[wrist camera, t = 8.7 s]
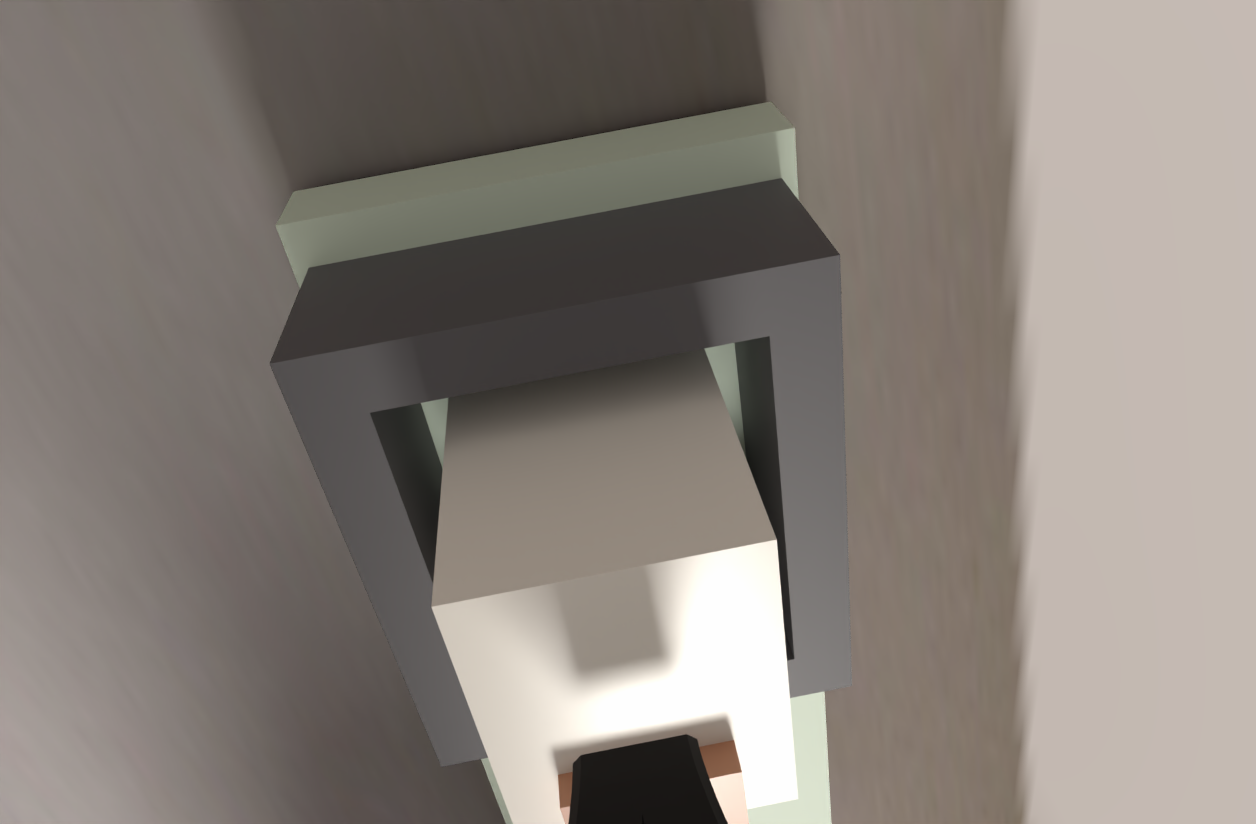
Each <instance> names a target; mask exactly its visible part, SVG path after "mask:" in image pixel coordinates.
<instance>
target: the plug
mask: <svg viewBox="0 0 1256 824" xmlns="http://www.w3.org/2000/svg"><path fill="white" fill-rule="evenodd" d="M431 607H432V610H433V613H434V615H435V618H436V621H437V623H438V626H439V629H440V631H441V634H442V637H443V639H444V642H445V645H446V647H447V650H448V653H449V655H450V658H451V661H452V663H453V666H454V668H455V671H456V674H457V676H458V679H459V682H460V684H461V687H462V690H463V692H464V695H465V698H466V700H467V703H468V706H469V708H470V711H471V714H472V716H473V719H474V722H475V724H476V727H477V730H478V732H479V735H480V738H481V740H482V743H483V745H484V748H485V751H486V753H487V756H488V759H489V761H490V764H491V767H492V769H493V772H494V775H495V777H496V780H497V783H498V785H499V788H500V791H501V793H502V796H503V799H504V801H505V804H506V807H507V809H508V812H509V814H510V817H511V820H512V822H513V824H568V823H569V814H570V804H571V793H572V772H573V763H574V762H575V761H576V760H577V759H578V757H579V756H580V755H584V754H589V753H594V752H599V751H604V750H609V749H614V748H619V747H624V746H629V745H634V744H639V743H644V742H649V741H654V740H659V739H665V738H670V737H675V736H680V735H685V734H687V735H690V736H692V737H694V738H696V739H697V740H698V744H699V748H700V752H701V755H702V758H703V761H704V764H705V767H706V770H707V773H708V776H709V779H710V782H711V784H712V787H713V789H714V792H715V794H716V797H717V799H718V802H719V804H720V806H721V809H722V811H723V813H724V816H725V818H726V820H727V822H728V824H749V819H748V812H747V809H751V808H756V807H761V806H766V805H771V804H776V803H781V802H786V801H791V800H796V799H798V789H797V777H796V765H795V753H794V741H793V729H792V717H791V705H790V693H789V681H788V669H787V657H786V644H785V632H784V620H783V608H782V596H781V584H780V572H779V560H778V548H777V539H776V536H775V534H774V531H773V528H772V526H771V523H770V520H769V518H768V515H767V513H766V510H765V507H764V505H763V502H762V499H761V497H760V494H759V491H758V489H757V486H756V484H755V481H754V478H753V476H752V473H751V470H750V468H749V465H748V462H747V460H746V457H745V455H744V452H743V449H742V447H741V444H740V441H739V439H738V436H737V434H736V431H735V428H734V426H733V423H732V420H731V418H730V415H729V412H728V410H727V407H726V405H725V402H724V399H723V397H722V394H721V391H720V389H719V386H718V383H717V381H716V378H715V376H714V373H713V370H712V368H711V365H710V362H709V360H708V357H707V354H706V352H705V349H699V350H694V351H689V352H684V353H679V354H673V355H668V356H663V357H658V358H652V359H647V360H642V361H637V362H632V363H626V364H621V365H616V366H611V367H606V368H600V369H595V370H590V371H585V372H580V373H574V374H569V375H564V376H559V377H554V378H548V379H543V380H538V381H533V382H527V383H522V384H517V385H512V386H507V387H501V388H496V389H491V390H486V391H481V392H475V393H470V394H465V395H460V396H455V397H449V398H448V410H447V422H446V434H445V446H444V459H443V471H442V483H441V495H440V507H439V519H438V532H437V544H436V556H435V568H434V580H433V592H432V605H431Z"/></svg>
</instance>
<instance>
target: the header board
mask: <svg viewBox="0 0 1256 824" xmlns="http://www.w3.org/2000/svg"><path fill="white" fill-rule="evenodd" d="M276 228H277V231H278V234H279V236H280V239H281V241H282V244H283V247H284V249H285V252H286V254H287V257H288V260H289V262H290V265H291V267H292V270H293V273H294V275H295V278H296V280H297V283H298V286H299V288H300V290H299V293H298V295H297V298H296V300H295V303H294V305H293V308H292V310H291V312H290V315H289V317H288V320H287V322H286V325H285V327H284V330H283V332H282V335H281V337H280V340H279V342H278V344H277V347H276V349H275V352H274V354H273V357H272V359H271V362H270V366H271V368H272V371H273V373H274V375H275V378H276V380H277V382H278V385H279V387H280V389H281V392H282V394H283V396H284V399H285V401H286V403H287V406H288V408H289V411H290V413H291V415H292V418H293V420H294V422H295V425H296V427H297V429H298V432H299V434H300V436H301V439H302V441H303V443H304V446H305V448H306V450H307V453H308V455H309V457H310V460H311V462H312V464H313V467H314V469H315V472H316V474H317V476H318V479H319V481H320V483H321V486H322V488H323V490H324V493H325V495H326V497H327V500H328V502H329V504H330V507H331V509H332V511H333V514H334V516H335V518H336V521H337V523H338V525H339V528H340V530H341V533H342V535H343V537H344V540H345V542H346V544H347V547H348V549H349V551H350V554H351V556H352V558H353V561H354V563H355V565H356V568H357V570H358V572H359V575H360V577H361V579H362V582H363V584H364V587H365V589H366V591H367V594H368V596H369V598H370V601H371V603H372V605H373V608H374V610H375V612H376V615H377V617H378V619H379V622H380V624H381V626H382V629H383V631H384V633H385V636H386V638H387V640H388V643H389V645H390V648H391V650H392V652H393V655H394V657H395V659H396V662H397V664H398V666H399V669H400V671H401V673H402V676H403V678H404V680H405V683H406V685H407V687H408V690H409V692H410V694H411V697H412V699H413V701H414V704H415V706H416V709H417V711H418V713H419V716H420V718H421V720H422V723H423V725H424V727H425V730H426V732H427V734H428V737H429V739H430V741H431V744H432V746H433V748H434V751H435V753H436V755H437V758H438V760H439V762H440V765H441V767H444V766H449V765H454V764H459V763H464V762H469V761H474V760H479V759H481V761H482V763H483V766H484V768H485V771H486V774H487V776H488V779H489V781H490V784H491V787H492V789H493V792H494V794H495V797H496V800H497V802H498V805H499V807H500V810H501V813H502V815H503V818H504V820H505V823H506V824H513V822H512V820H511V817H510V814H509V812H508V809H507V807H506V804H505V801H504V799H503V796H502V793H501V791H500V788H499V785H498V783H497V780H496V777H495V775H494V772H493V769H492V767H491V764H490V761H489V759H488V756H487V753H486V751H485V748H484V745H483V743H482V740H481V738H480V735H479V732H478V730H477V727H476V724H475V722H474V719H473V716H472V714H471V711H470V708H469V706H468V703H467V700H466V698H465V695H464V692H463V690H462V687H461V684H460V682H459V679H458V676H457V674H456V671H455V668H454V666H453V663H452V661H451V658H450V655H449V653H448V650H447V647H446V645H445V642H444V639H443V637H442V634H441V631H440V629H439V626H438V623H437V621H436V618H435V615H434V613H433V610H432V607H431V605H432V592H433V580H434V568H435V556H436V544H437V532H438V519H439V507H440V495H441V483H442V471H443V459H444V446H445V434H446V422H447V410H448V398H449V397H455V396H460V395H465V394H470V393H475V392H481V391H486V390H491V389H496V388H501V387H507V386H512V385H517V384H522V383H527V382H533V381H538V380H543V379H548V378H554V377H559V376H564V375H569V374H574V373H580V372H585V371H590V370H595V369H600V368H606V367H611V366H616V365H621V364H626V363H632V362H637V361H642V360H647V359H652V358H658V357H663V356H668V355H673V354H679V353H684V352H689V351H694V350H699V349H705V352H706V354H707V357H708V360H709V362H710V365H711V368H712V370H713V373H714V376H715V378H716V381H717V383H718V386H719V389H720V391H721V394H722V397H723V399H724V402H725V405H726V407H727V410H728V412H729V415H730V418H731V420H732V423H733V426H734V428H735V431H736V434H737V436H738V439H739V441H740V444H741V447H742V449H743V452H744V455H745V457H746V460H747V462H748V465H749V468H750V470H751V473H752V476H753V478H754V481H755V484H756V486H757V489H758V491H759V494H760V497H761V499H762V502H763V505H764V507H765V510H766V513H767V515H768V518H769V520H770V523H771V526H772V528H773V531H774V534H775V536H776V539H777V548H778V560H779V572H780V584H781V596H782V608H783V620H784V632H785V644H786V657H787V669H788V681H789V693H790V705H791V717H792V729H793V741H794V753H795V765H796V777H797V789H798V799H796V800H791V801H786V802H781V803H776V804H771V805H766V806H761V807H756V808H751V809H747V812H748V819H749V824H831V808H830V789H829V770H828V751H827V732H826V713H825V694H824V691H829V690H834V689H839V688H844V687H849V686H852V672H851V636H850V600H849V563H848V527H847V491H846V455H845V419H844V382H843V346H842V310H841V274H840V254H839V253H838V252H837V250H836V249H835V248H834V246H833V245H832V244H831V242H830V241H829V240H828V238H827V237H826V236H825V235H824V233H823V232H822V231H821V229H820V228H819V227H818V225H817V224H816V223H815V221H814V220H813V219H812V217H811V216H810V215H809V213H808V212H807V211H806V209H805V208H804V207H803V206H802V204H801V203H800V202H799V199H798V180H797V160H796V141H795V127H794V126H793V125H792V124H791V123H790V122H789V121H788V120H787V119H786V118H785V116H784V115H783V114H782V113H781V112H780V111H779V110H778V109H777V108H776V107H775V106H774V104H773V103H772V102H766V103H761V104H755V105H750V106H745V107H739V108H734V109H729V110H723V111H718V112H713V113H708V114H702V115H697V116H692V117H686V118H681V119H676V120H670V121H665V122H660V123H654V124H649V125H644V126H639V127H633V128H628V129H623V130H617V131H612V132H607V133H601V134H596V135H591V136H585V137H580V138H575V139H570V140H564V141H559V142H554V143H548V144H543V145H538V146H532V147H527V148H522V149H517V150H511V151H506V152H501V153H495V154H490V155H485V156H479V157H474V158H469V159H463V160H458V161H453V162H448V163H442V164H437V165H432V166H426V167H421V168H416V169H410V170H405V171H400V172H394V173H389V174H384V175H379V176H373V177H368V178H363V179H357V180H352V181H347V182H341V183H336V184H331V185H326V186H320V187H315V188H310V189H304V190H299V191H294V192H293V193H292V195H291V197H290V199H289V201H288V203H287V205H286V207H285V209H284V211H283V213H282V214H281V216H280V218H279V220H278V222H277V224H276Z"/></svg>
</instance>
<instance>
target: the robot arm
mask: <svg viewBox="0 0 1256 824" xmlns="http://www.w3.org/2000/svg"><path fill="white" fill-rule="evenodd" d="M568 824H728V822H727V820H726V818H725V816H724V813H723V811H722V809H721V806H720V804H719V802H718V799H717V797H716V794H715V792H714V789H713V787H712V784H711V782H710V779H709V776H708V773H707V770H706V767H705V764H704V761H703V758H702V755H701V752H700V748H699V744H698V740H697V739H696V738H694V737H692V736H690V735H687V734H685V735H680V736H675V737H670V738H665V739H659V740H654V741H649V742H644V743H639V744H634V745H629V746H624V747H619V748H614V749H609V750H604V751H599V752H594V753H589V754H584V755H580V756H579V757H578V759H577V760H576V761H575V762H574V763H573V772H572V793H571V804H570V814H569V823H568Z"/></svg>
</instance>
